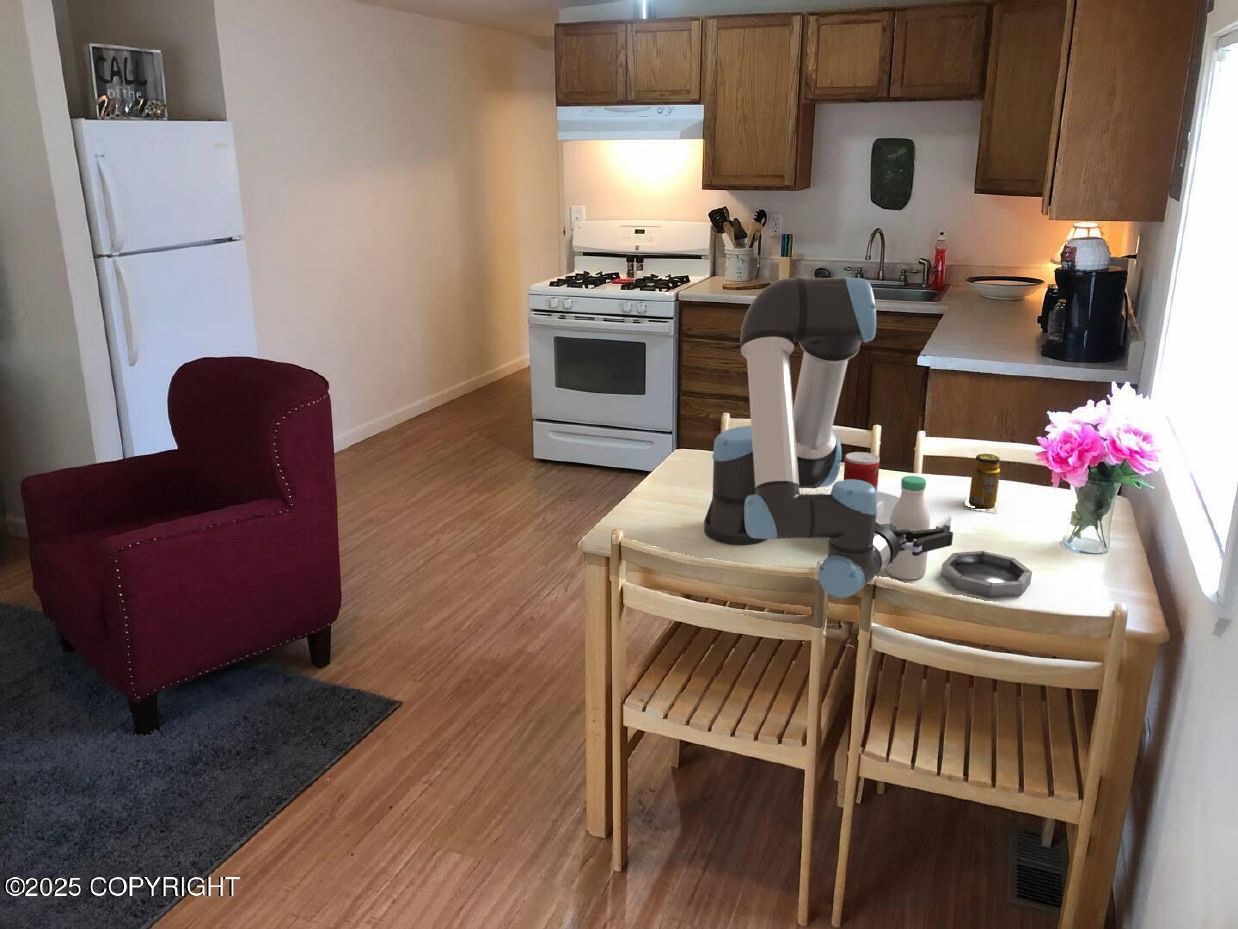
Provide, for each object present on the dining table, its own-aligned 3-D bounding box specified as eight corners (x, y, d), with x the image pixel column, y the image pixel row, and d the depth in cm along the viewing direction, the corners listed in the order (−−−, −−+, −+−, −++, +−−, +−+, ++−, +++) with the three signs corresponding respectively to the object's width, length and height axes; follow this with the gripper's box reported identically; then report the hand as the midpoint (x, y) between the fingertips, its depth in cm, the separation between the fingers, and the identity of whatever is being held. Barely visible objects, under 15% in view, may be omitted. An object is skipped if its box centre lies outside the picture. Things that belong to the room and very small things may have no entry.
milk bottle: (931, 571, 193) (941, 478, 186) (914, 584, 187) (923, 488, 181) (896, 561, 198) (904, 469, 191) (878, 573, 192) (886, 479, 186)
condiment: (998, 501, 229) (1004, 454, 225) (996, 514, 222) (1002, 464, 218) (966, 497, 232) (971, 450, 228) (963, 509, 224) (968, 461, 221)
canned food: (879, 505, 227) (883, 461, 224) (845, 505, 227) (848, 461, 224) (872, 494, 235) (875, 451, 231) (839, 494, 235) (842, 451, 231)
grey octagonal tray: (933, 583, 188) (934, 571, 187) (958, 556, 199) (960, 545, 198) (1014, 604, 179) (1016, 592, 178) (1036, 575, 190) (1038, 563, 190)
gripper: (808, 553, 182) (854, 518, 198) (937, 586, 168) (976, 546, 184) (810, 516, 180) (856, 484, 196) (941, 547, 165) (980, 510, 181)
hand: (914, 514), depth 190 cm, fingers open, 13 cm apart
